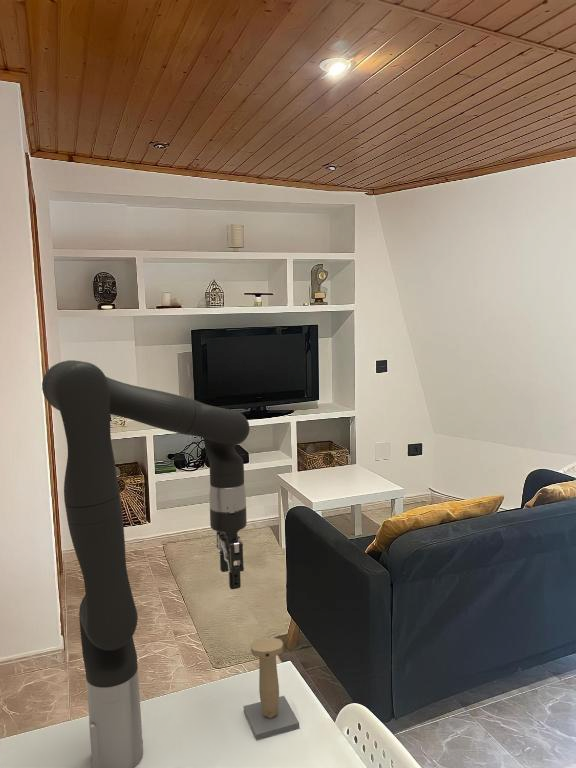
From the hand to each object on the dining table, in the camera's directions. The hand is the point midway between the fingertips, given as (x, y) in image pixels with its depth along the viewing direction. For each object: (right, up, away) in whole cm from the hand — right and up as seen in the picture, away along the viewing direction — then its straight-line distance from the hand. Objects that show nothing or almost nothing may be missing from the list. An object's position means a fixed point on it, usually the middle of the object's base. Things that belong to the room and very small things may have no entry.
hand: (230, 579), depth 124 cm
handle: (+9, -26, -4) cm, 28 cm away
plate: (+9, -27, -4) cm, 29 cm away
